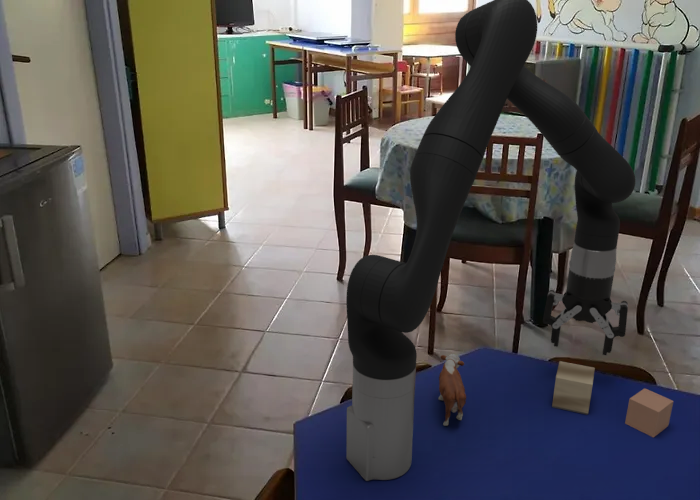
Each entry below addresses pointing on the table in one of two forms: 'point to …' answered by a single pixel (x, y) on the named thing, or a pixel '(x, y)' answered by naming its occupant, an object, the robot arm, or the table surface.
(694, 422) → the table surface
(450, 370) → the bull figurine
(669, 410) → the terracotta block
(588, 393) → the oak block
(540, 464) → the table surface
